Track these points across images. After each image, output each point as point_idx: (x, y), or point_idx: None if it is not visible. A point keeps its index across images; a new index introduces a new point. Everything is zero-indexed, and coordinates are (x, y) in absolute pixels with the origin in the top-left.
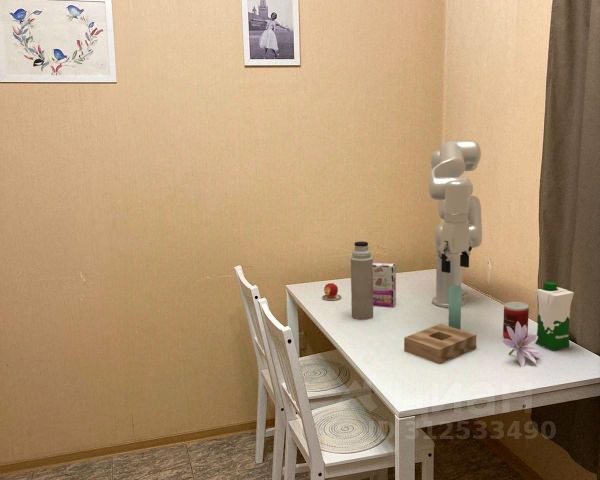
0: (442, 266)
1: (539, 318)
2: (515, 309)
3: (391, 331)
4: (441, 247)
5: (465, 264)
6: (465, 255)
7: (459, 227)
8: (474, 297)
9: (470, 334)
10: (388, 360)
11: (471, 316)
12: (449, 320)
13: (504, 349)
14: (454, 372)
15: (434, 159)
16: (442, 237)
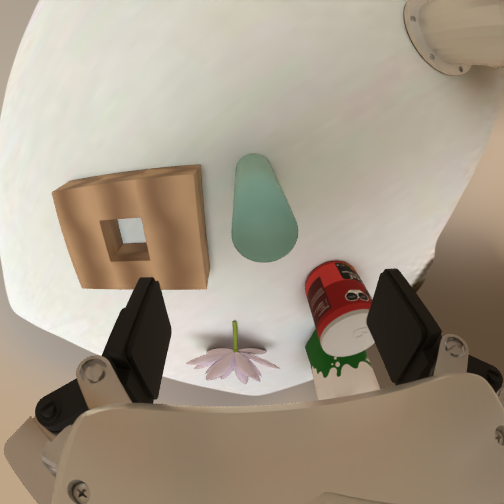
0: (117, 325)
1: (324, 371)
2: (323, 349)
3: (126, 53)
4: (35, 484)
5: (377, 322)
6: (407, 374)
7: None
8: (494, 79)
9: (195, 280)
10: (30, 201)
11: (399, 129)
12: (236, 175)
13: (251, 304)
14: (99, 303)
15: None
16: None
